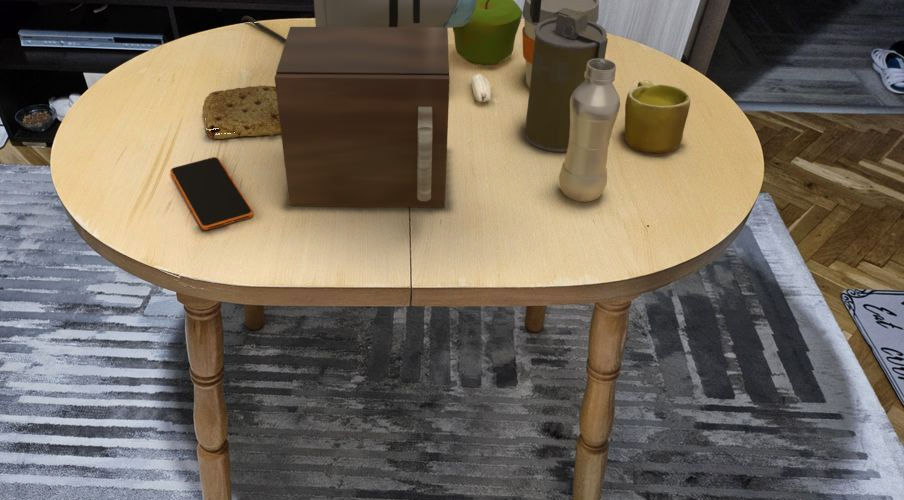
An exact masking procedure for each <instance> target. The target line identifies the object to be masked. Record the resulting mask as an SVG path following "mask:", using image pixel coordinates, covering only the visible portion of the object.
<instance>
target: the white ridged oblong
mask: <svg viewBox="0 0 904 500" xmlns="http://www.w3.org/2000/svg"><path fill="white" fill-rule="evenodd" d="M471 89H472V92H473V96H474V99H476V100H477V101H478V102H479V103H482V102H489V101H490V99H491V98H492V86H491V84H490V82H489V80H488V78H487V77H485V76H484V75H482V74H481V73H477V74H474V75H472V77H471Z"/></svg>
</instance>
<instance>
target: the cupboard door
mask: <svg viewBox="0 0 904 500" xmlns="http://www.w3.org/2000/svg"><path fill="white" fill-rule="evenodd" d="M450 77H451V76H450V74H449V75H347V74H276V73H275V75H274V84H275V85H274V86H275V87H276V94H277V103H278V112H279V120H280V129H281V133H280V136H281V137H280V138H281V145H282V154H283V162H284V170H285V171H284V172H285V179H286V187H287V196H288V204H289V207H290V206H291V207H365V208H367V207H374V208H375V207H376V208H377V207H378V208H446V192H447V191H446V190H447V188H446V187H447V163H448V162H447V161H448V135H449V133H448V131H449V110H450V107H449V106H450V83H451V81H450V80H451V79H450Z"/></svg>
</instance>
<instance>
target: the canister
mask: <svg viewBox="0 0 904 500" xmlns="http://www.w3.org/2000/svg"><path fill="white" fill-rule="evenodd" d="M553 14H554V15H555V16H556V15H557V18H551V19H547V20H545V21H542V22H540V23H539V24H537V26H536V27H535V30H534V33H535V44H534V54H533V63H532V72H531V81H530V87H529V90H528V91H529V92H528V101H527V110H526V119H525V127H524V128H523V137H524V138H525V140H526V141H527V142H528V143H529V144H530V145H532V146H534V147H536V148H538V149H541V150H544V151H548V152H553V153H566V152H567V148H568V144H569V136H570V135H569V132H570V98H571V95H572V93H573V91H574V90H575V89H576V88H577V87H578V86H579V85H580V84H581V83H582V82H583V81H584V80H586V79H585V78H584V74H585V71H586V67H587V63H588V61H590V60H592V59H605V58H606V53H607V47H608V42H609V39H608V37H607V36H608V34H607V31H606V29H605V28H604V27H603V26H602V25H600V24H599V23H597V22H596V23H595V22H592V21H589V20H587V14H586V13H585V12H582V11H575V10H572V9H568V8H562V9H561V10H559V11H557V12H555V13H553Z"/></svg>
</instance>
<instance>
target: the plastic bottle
mask: <svg viewBox="0 0 904 500" xmlns="http://www.w3.org/2000/svg"><path fill="white" fill-rule="evenodd" d="M616 70H617V65H616V63H615V62H614V61H612V60H610V59H607V58H606V59H592V60H590V61H588V63H587V67H586V71H585V74H584V78H585V79H586V80H584V81H583V82H582V83H581V84H580V85H579V86H578V87H577V88H576V89H575V90H574V91H573V93H572V95H571V98H570V132H569V135H570V136H569V144H568V148H567V152H565V156H564V161H563V163H562V165H561V168H560V172H559V176H558V180H559V188H560V190H561V191H562V193H563V194H564V196H566V197H567V198H569V199H571V200H574V201H577V202H591V201H595V200H597V199H598V198H599V197H600V196H602V195H603V194H604V191H605V189H606V186H607V182H608V168H607V163H608V162H607V161H608V153H609V152H608V150H609V145H610V141H611V136H612V132H613V129H614V126H615V123H616V120H617V118H618V114H619V111H620V107H621V100H620V99H621V98H620V96H619V93H618V91H617V89H616V87H615V85H614V84H613V83H614V81H615V79H616V72H617V71H616Z"/></svg>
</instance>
